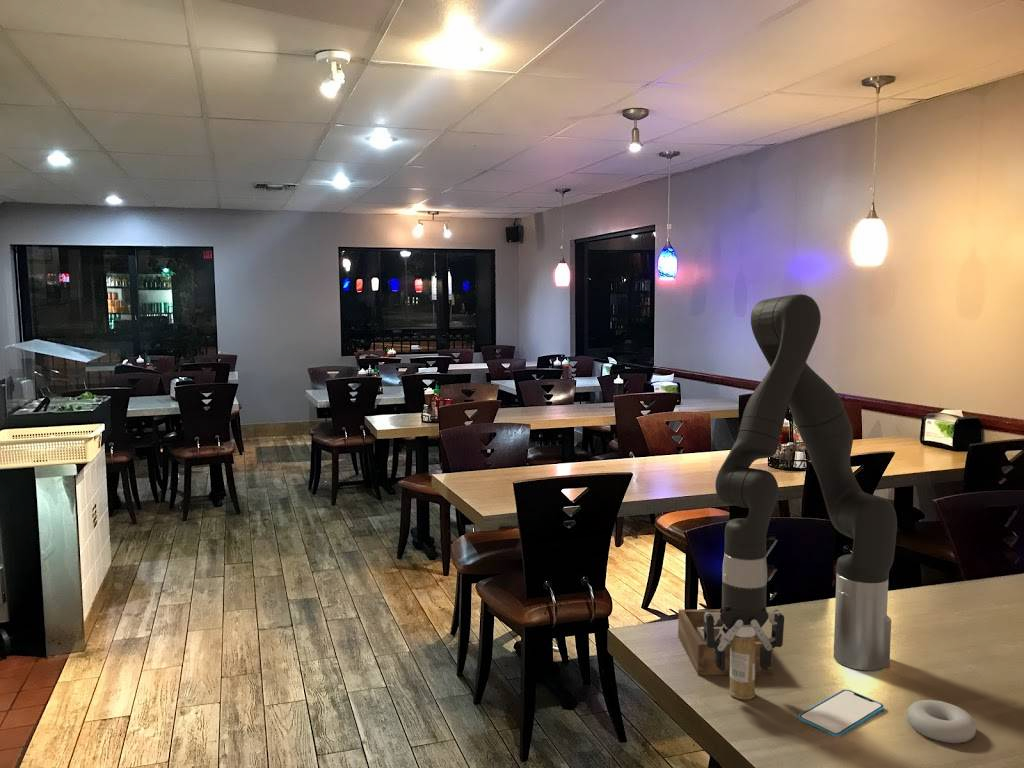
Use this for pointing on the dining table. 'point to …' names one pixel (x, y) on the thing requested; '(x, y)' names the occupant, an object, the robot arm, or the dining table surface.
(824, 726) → the smartphone
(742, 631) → the sprinkles bottle
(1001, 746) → the dining table surface
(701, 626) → the caddy
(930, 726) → the donut
